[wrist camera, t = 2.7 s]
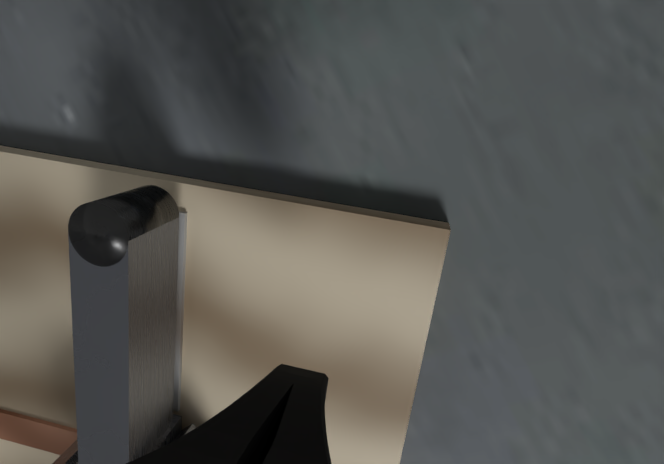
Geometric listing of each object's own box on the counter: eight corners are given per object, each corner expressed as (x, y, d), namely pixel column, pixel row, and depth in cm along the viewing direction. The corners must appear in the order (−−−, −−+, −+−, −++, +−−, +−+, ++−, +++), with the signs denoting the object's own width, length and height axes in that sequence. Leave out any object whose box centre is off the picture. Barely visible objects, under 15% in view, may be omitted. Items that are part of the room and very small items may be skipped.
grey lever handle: (223, 552, 21) (187, 635, 18) (88, 512, 22) (30, 584, 19) (252, 199, 16) (208, 223, 13) (76, 168, 17) (-7, 183, 14)
